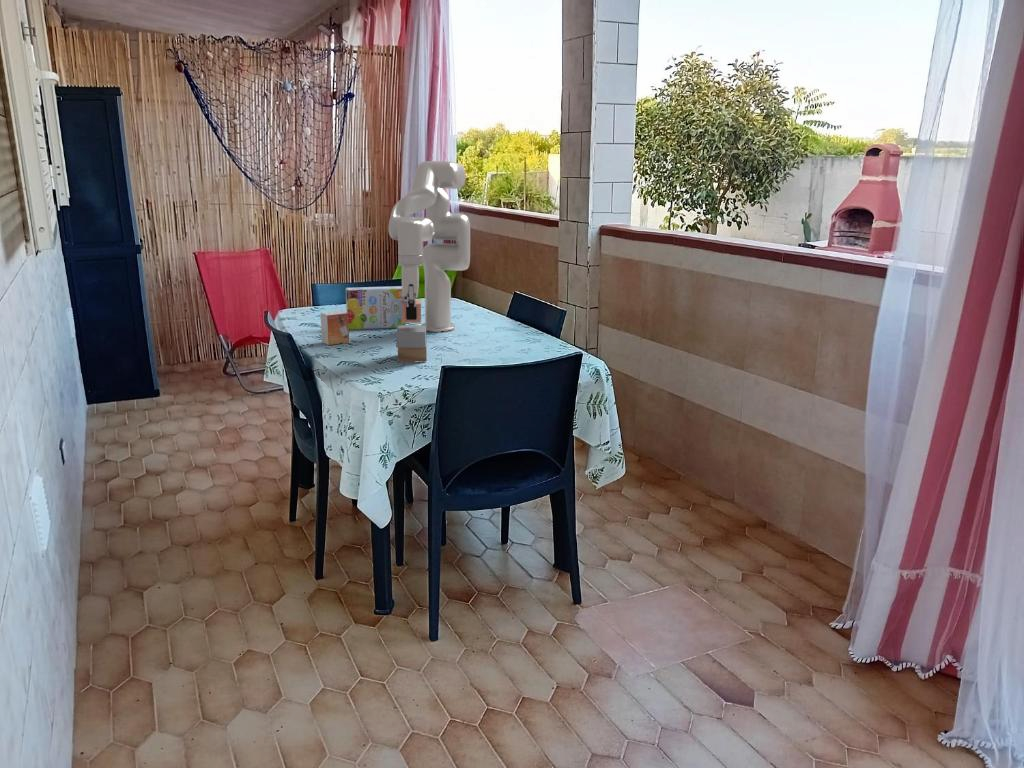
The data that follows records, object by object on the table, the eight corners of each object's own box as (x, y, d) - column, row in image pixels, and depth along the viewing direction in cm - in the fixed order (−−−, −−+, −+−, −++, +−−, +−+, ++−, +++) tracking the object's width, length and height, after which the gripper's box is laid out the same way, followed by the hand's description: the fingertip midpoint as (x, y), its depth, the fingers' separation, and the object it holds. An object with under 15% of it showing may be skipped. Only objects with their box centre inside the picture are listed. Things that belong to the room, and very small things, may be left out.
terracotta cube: (401, 318, 248) (401, 300, 246) (420, 318, 249) (420, 300, 247) (401, 322, 242) (401, 303, 241) (421, 322, 243) (420, 303, 241)
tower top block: (398, 340, 252) (398, 325, 250) (426, 340, 252) (426, 325, 251) (396, 347, 243) (396, 332, 242) (425, 347, 244) (424, 332, 242)
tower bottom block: (398, 355, 253) (398, 340, 252) (426, 355, 254) (426, 340, 253) (398, 362, 245) (397, 347, 243) (426, 362, 246) (426, 347, 244)
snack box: (403, 324, 295) (403, 285, 291) (405, 328, 290) (404, 288, 286) (347, 326, 290) (345, 286, 286) (347, 330, 285) (346, 289, 281)
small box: (328, 345, 262) (326, 315, 259) (321, 342, 267) (319, 312, 263) (349, 342, 267) (348, 312, 264) (343, 339, 271) (341, 309, 268)
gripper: (398, 256, 248) (399, 311, 253) (398, 264, 231) (399, 323, 237) (422, 256, 249) (422, 311, 254) (423, 264, 232) (423, 323, 238)
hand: (411, 316), depth 245 cm, fingers closed on terracotta cube, 6 cm apart
